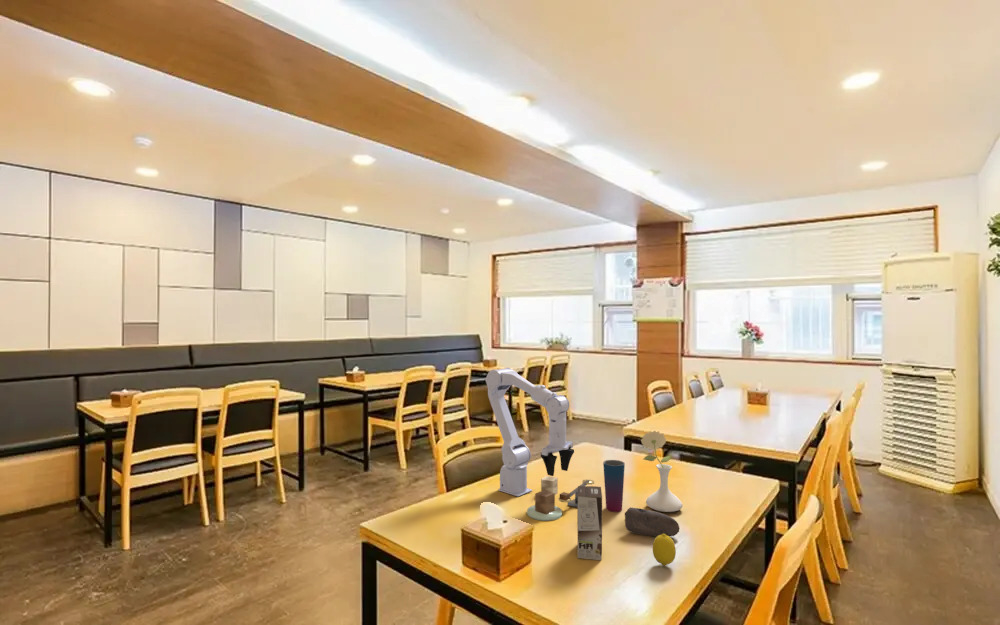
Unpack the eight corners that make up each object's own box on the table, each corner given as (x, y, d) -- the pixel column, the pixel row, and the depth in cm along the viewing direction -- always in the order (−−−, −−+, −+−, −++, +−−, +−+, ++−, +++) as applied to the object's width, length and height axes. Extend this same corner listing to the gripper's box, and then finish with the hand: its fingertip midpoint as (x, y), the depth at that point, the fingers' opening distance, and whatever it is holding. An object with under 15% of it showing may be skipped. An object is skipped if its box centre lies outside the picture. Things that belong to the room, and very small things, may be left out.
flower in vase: (684, 505, 171) (684, 429, 171) (680, 517, 160) (680, 437, 160) (643, 499, 176) (643, 426, 176) (637, 511, 166) (637, 433, 166)
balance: (556, 510, 167) (556, 490, 167) (586, 496, 179) (586, 477, 179) (566, 513, 164) (566, 493, 164) (596, 499, 177) (596, 480, 177)
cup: (625, 513, 164) (625, 466, 164) (603, 512, 165) (603, 465, 165) (624, 505, 170) (624, 460, 170) (603, 504, 172) (603, 459, 172)
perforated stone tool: (679, 535, 148) (679, 510, 148) (679, 543, 143) (679, 517, 143) (626, 527, 153) (626, 504, 153) (623, 534, 148) (623, 510, 148)
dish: (520, 514, 164) (520, 510, 164) (541, 504, 172) (541, 501, 172) (547, 523, 156) (547, 520, 156) (569, 513, 164) (569, 510, 164)
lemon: (649, 561, 132) (649, 529, 132) (670, 560, 133) (670, 529, 133) (657, 571, 127) (657, 539, 127) (679, 570, 127) (679, 538, 127)
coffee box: (602, 560, 133) (602, 497, 133) (577, 558, 134) (576, 496, 134) (601, 545, 142) (601, 486, 142) (578, 543, 143) (577, 484, 143)
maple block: (541, 495, 181) (541, 479, 181) (546, 491, 185) (546, 475, 185) (552, 497, 179) (552, 481, 179) (557, 493, 183) (557, 477, 183)
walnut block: (535, 511, 163) (535, 493, 164) (543, 507, 167) (543, 490, 167) (546, 514, 161) (546, 496, 161) (554, 510, 164) (554, 493, 164)
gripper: (553, 437, 166) (553, 480, 166) (580, 430, 176) (580, 470, 176) (536, 434, 171) (536, 475, 171) (563, 427, 181) (563, 466, 181)
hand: (557, 472), depth 174 cm, fingers open, 7 cm apart
